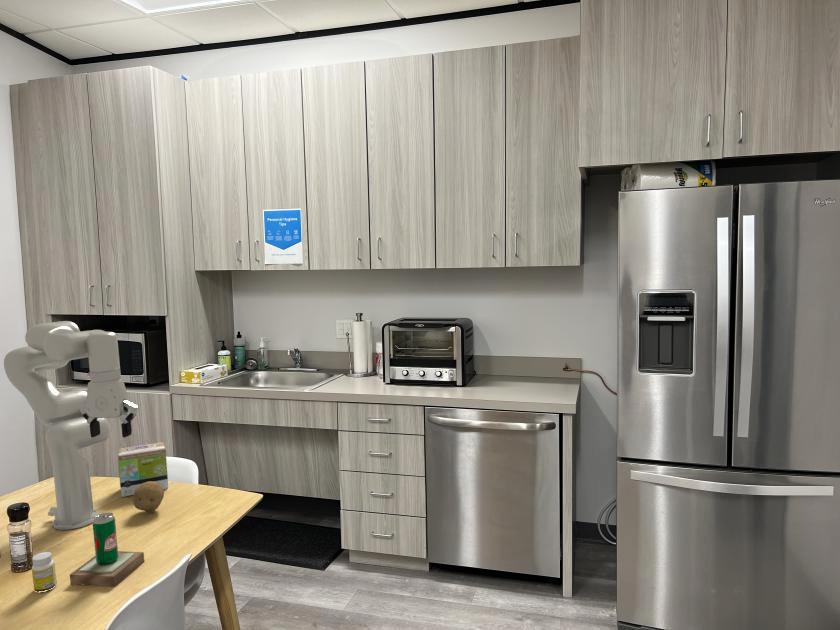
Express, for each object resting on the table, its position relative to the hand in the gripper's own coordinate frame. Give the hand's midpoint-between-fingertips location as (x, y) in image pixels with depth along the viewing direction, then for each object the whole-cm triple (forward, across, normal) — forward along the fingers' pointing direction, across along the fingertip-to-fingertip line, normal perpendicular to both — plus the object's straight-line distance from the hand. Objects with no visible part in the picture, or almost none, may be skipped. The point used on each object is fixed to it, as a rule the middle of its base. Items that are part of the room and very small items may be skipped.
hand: (111, 435), depth 169 cm
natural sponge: (+31, -2, +17) cm, 35 cm away
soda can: (+27, +9, -18) cm, 34 cm away
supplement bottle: (+31, -2, -26) cm, 40 cm away
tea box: (+31, -16, +36) cm, 50 cm away
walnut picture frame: (+30, +9, -18) cm, 36 cm away
